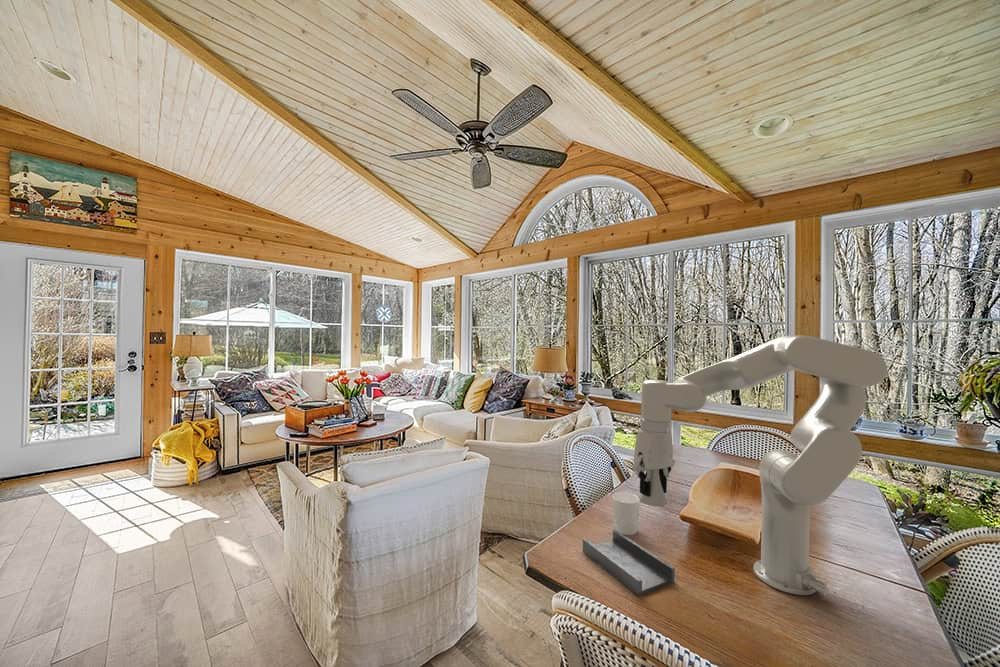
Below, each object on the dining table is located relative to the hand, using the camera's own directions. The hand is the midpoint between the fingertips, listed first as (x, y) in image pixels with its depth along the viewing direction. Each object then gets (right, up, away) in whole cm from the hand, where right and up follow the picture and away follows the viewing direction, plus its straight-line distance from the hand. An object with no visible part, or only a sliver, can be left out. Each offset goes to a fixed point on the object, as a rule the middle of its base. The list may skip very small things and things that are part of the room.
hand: (653, 492), depth 104 cm
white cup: (-3, -18, +15) cm, 24 cm away
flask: (0, -3, 0) cm, 3 cm away
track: (-9, -18, -4) cm, 20 cm away
